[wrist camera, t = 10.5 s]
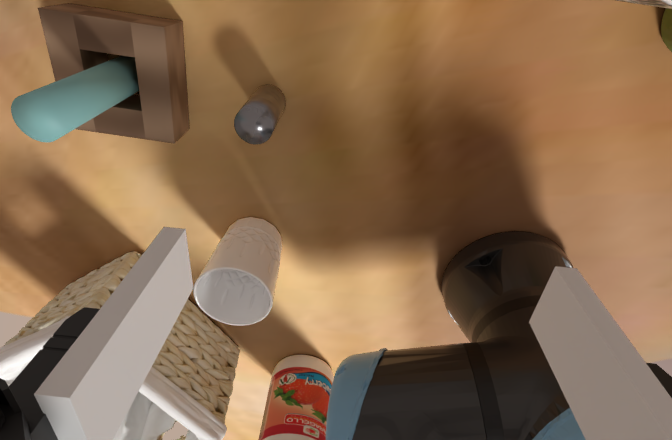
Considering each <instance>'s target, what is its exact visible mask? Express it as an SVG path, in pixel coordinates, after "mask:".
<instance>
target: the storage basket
mask: <svg viewBox="0 0 672 440" xmlns="http://www.w3.org/2000/svg"><path fill="white" fill-rule="evenodd" d="M141 256H142V255H141V254H139V253H138V252H135V251H133V252H129V253H126V254H125V255H123V256H122V257H119V258H116V259H115V260H113V261H112V262H110V263H107V264H105V265H103V266H102V267H101V268H100V269H96V270H93V271H91V272H90V273H88V274H87V275H86V276H84V277H81V278H79V279H77V280H76V281H75V282H72V283H71V284H69V285H67V286H66V287H65V288H64V289H63V290H62V291H61V292H60V293H59V294H58V295H57V296H56V297H55V298H54V299H53V300H51V301H50V302H48V304H47V305H46V306H44V307H43V308H42V309H41V310H40V311H39V313H37V314H36V315H35V317H33V318H32V319H31V320H30V321H29V322H28V323H27V324H26V326H25V327H23V328H22V329H21V330H20V331H19V333H18V335H16V336H15V337H13V338H12V339H10V340H9V341H8V342H6V344H5V345H4V346H3V347H2V348H0V378H1V379H3V380H5V381H6V383H7V385H8V386H10V384H11V383H12V382H13V381H14V380H15V379H16V377H17V376H18V375H19V374H20V373H21V372H22V370H23V369H24V368H25V367H26V366H27V365H28V363H29V362H30V361H31V360H32V359H33V358H34V356H35V355H36V354H37V353H38V352H39V350H42V349H43V346H44V345H45V343H46V342H47V341H48V340H49V339H50V338H51V337H53V334H54V333H55V332H56V331H57V329H58V328H59V327H60V326H61V325H62V323H63V322H64V321H65V320H66V319H67V318H69V317H70V316H72V315H73V314H75V313H76V312H78V311H79V310H81V309H82V308H84V307H87V308H97V309H101V307H102V306H103V305H104V303H105V302H106V301H107V300H108V298H109V297H110V296H111V294H112V293H113V292H114V291H115V289H116V288H117V287H118V285H119V284H120V283H121V282H122V280H123V279H124V278H125V276H126V275H127V274H128V273H129V271H130V270H131V269H132V267H133V266H134V265H135V264H136V262H137V261H138V260H139V258H140V257H141ZM239 353H240V350H239V348H238V346H237V345H236V344H235V343H234V342H233V341H231V339H230V338H229V337H228V336H227V335H225V334H224V333H223V332H222V331H221V330H220V328H219V327H217V326H216V325H215V324H214V323H212V322H211V321H210V319H209V318H208V317H207V316H206V315H205V314H203V313H202V312H201V311H200V310H199V309H198V307H197V306H195V305H194V304H193V303H192V302H191V301H189V300H188V299H187V301H186V303H185V305H184V307H183V309H182V311H181V312H180V314H179V316H178V318H177V320H176V322H175V324H174V326H173V327H172V329H171V331H170V333H169V335H168V337H167V339H166V341H165V343H164V344H163V346H162V348H161V350H160V352H159V354H158V356H157V358H156V359H155V361H154V363H153V365H152V367H151V369H150V371H149V373H148V374H147V376H146V378H145V380H144V382H143V384H142V386H141V388H140V389H139V391H138V393H137V395H136V397H135V399H134V401H133V403H132V405H131V406H130V408H129V410H128V412H127V414H126V416H125V418H124V420H123V421H122V423H121V425H120V427H119V429H118V431H117V433H116V435H115V436H114V438H113V440H162V437H163V435H164V433H165V432H166V431H168V430H170V429H172V427H173V426H174V424H175V422H177V421H178V422H179V423H181V424H182V425H183V426H185V427H186V428H187V429H189V430H188V433H187V435H186V436H185V437H183V436H181V438H180V439H177V440H222V439H223V437H224V436H225V433H226V430H227V427H226V425H225V415H226V413H227V409H228V404H229V400H230V398H229V397H230V396H231V394H232V390H233V381H234V378H235V374H236V373H235V368H236V367H237V364H238V358H239V357H238V356H239Z"/></svg>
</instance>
